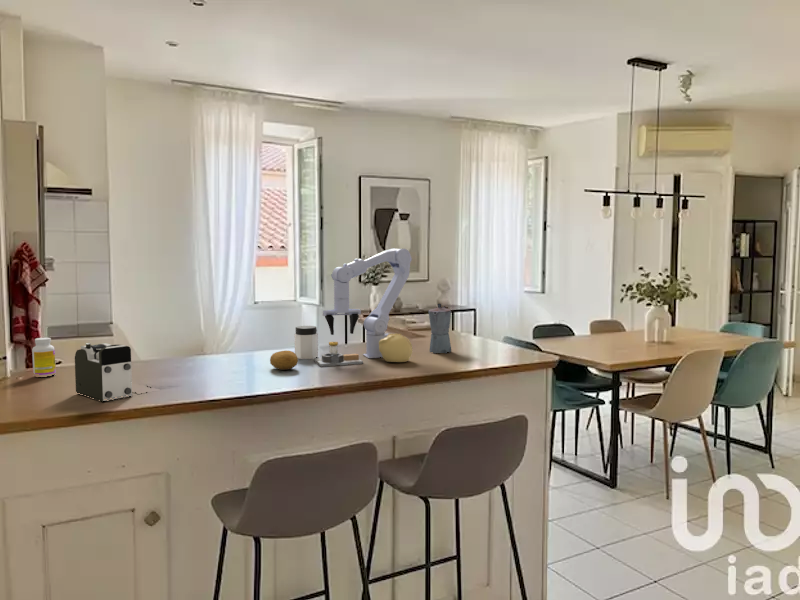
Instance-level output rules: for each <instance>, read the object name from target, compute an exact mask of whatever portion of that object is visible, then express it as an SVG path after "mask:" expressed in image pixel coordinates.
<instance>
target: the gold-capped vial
mask: <svg viewBox="0 0 800 600" xmlns="http://www.w3.org/2000/svg"><path fill="white" fill-rule="evenodd" d="M328 345H329V349H328V351H329V353H330V356H338V353H339V352H338V351H339V350H338V345H339V342H338V341H329V342H328Z"/></svg>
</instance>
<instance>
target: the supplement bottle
mask: <svg viewBox="0 0 800 600" xmlns="http://www.w3.org/2000/svg"><path fill="white" fill-rule="evenodd" d="M51 343H52V338H51V337H37V338H35V339H34V344H35V346H33V347H32V349H31V352H32V353H31V354H32V355H31V356H32V370H33V373H34V374H39V375H48V374H53V373H56V374H57V369H56V354H55V353H56V350H55V346H54V345H52V344H51Z"/></svg>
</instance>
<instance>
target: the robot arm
mask: <svg viewBox="0 0 800 600" xmlns="http://www.w3.org/2000/svg"><path fill="white" fill-rule="evenodd" d="M412 260H413V258H412V255H411V252H410V251H409V249H407V248H396V247H395V248H394V247H391V248H390V249H385V250H383V251H381V252H379V253H376V254H375V255H372V256H371V257H368V258H366V259H362V258H357V257H356V258H354V259H353V261H352V262H349V263H343V264H342V266H337V267H334V269H333V270H332V271H331V272H332V273H331V275H330V276H331V279H332V280H333V303H334V304H333V306H334V307H333V308H334V309H326V310H323V309H322V316H323V317H325V321H326V322H327V324H328V325H327V326H328V328H329V331H330V335H331V336H334V335H335V330H334V322H335V317H334V316H349V334H351V335H352V334H354V331H355V328H356V324H357V321H358V320H359V317H360V315H362V314H361V313H362V310H361V309H360V308H357V309H356V308H350V281H351V279H353V278H355V277H359V276H360V275H364V274H365V273H366V272H367V271H368V269H369V268H372V267H374V266H377V265H379V264H382V263H384V262H385V263H386V262H387V263H389V265H390V266H391V268H392V270H393V274H394V275H393V276H392V277H391V280H390V282H389V284H388V286H387V287H386V289H385V291H384V292H383V295H382V296H381V298H380V300H379V302H378V304H377V307H376V308H375V309H373V310H371V312H370V313H369V315H368V316H367V317H365V318H364V321H363V327H364V329H365V331H366V336H365V337H366V342H365V343H366V345H365V347H366V349H365V350H366V353H363V354H362V355H363V356H364V357H366V358H367V359H377V358H379V359H380V357H381V358H383V356H382V354H381V352H380V351H379V341H380V340H381V339H384V338H385V337H387V335H389V334H390V333H386V331H387V329H388V326H389V325H388V324H389V321H390V312H391V311H392V309H393V306H394V304H395V303H396V302H397V300H398V297H399V295H400V294H401V292H402V289H403V288H404V286H405V284H406V282H407V281H408V278H409V277H410V269H411V262H412Z"/></svg>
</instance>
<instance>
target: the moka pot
mask: <svg viewBox="0 0 800 600" xmlns="http://www.w3.org/2000/svg"><path fill="white" fill-rule="evenodd" d="M451 313H452V311H451V309H450V308H447V307H446V305H444V306H442V303H437V307H434V308H431V309H428V319H429V326H430V327H429V328H430V331H431V332H430V333H431V335H430V341H429V342H430V343H429V352H430V353H431V352H433V353H432V354H436V353H445V354H448V353H447V352H449V353H451V352H452V345H451V344H452V343H451V339H450V334H449V332H450V331H449V329H450V324H451V315H452V314H451Z"/></svg>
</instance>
